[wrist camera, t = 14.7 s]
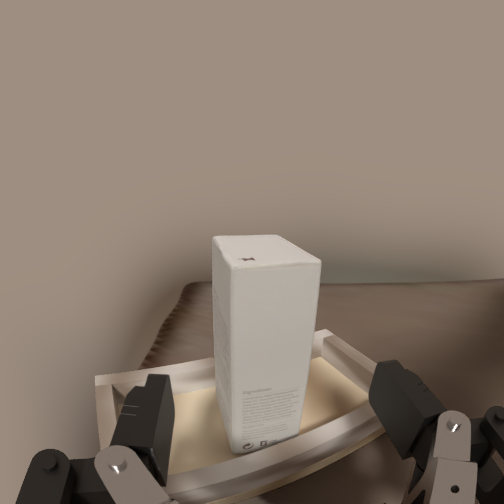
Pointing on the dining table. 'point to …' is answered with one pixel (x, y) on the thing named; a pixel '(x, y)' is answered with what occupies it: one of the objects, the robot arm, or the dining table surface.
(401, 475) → the dining table surface
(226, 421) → the skincare box
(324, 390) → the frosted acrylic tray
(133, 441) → the robot arm
